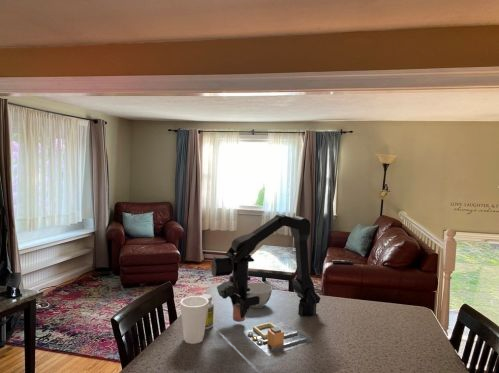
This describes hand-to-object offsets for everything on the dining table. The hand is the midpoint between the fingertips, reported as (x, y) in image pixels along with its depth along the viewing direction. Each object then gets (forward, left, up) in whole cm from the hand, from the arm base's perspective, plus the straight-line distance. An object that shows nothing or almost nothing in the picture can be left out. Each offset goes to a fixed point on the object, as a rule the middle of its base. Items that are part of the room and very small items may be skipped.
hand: (239, 315), depth 128 cm
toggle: (-4, +18, -3) cm, 19 cm away
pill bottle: (+11, -6, -4) cm, 13 cm away
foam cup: (+18, +1, -4) cm, 18 cm away
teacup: (-15, -12, -4) cm, 20 cm away
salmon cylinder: (0, 0, -1) cm, 1 cm away
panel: (-7, +14, -4) cm, 16 cm away
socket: (-6, +9, -4) cm, 12 cm away
